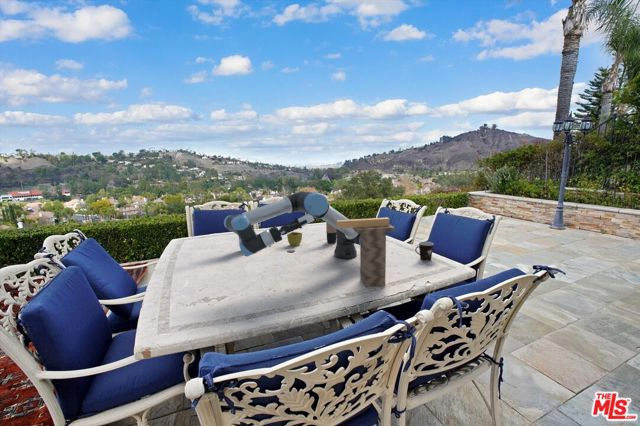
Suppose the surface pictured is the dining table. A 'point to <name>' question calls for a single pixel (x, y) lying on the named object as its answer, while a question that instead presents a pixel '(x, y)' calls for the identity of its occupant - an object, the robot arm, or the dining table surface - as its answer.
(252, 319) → the dining table surface
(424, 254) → the coffee mug
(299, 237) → the flower pot
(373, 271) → the walnut stand
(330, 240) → the travel mug
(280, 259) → the dining table surface
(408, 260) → the dining table surface
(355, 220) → the brown block
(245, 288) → the dining table surface
